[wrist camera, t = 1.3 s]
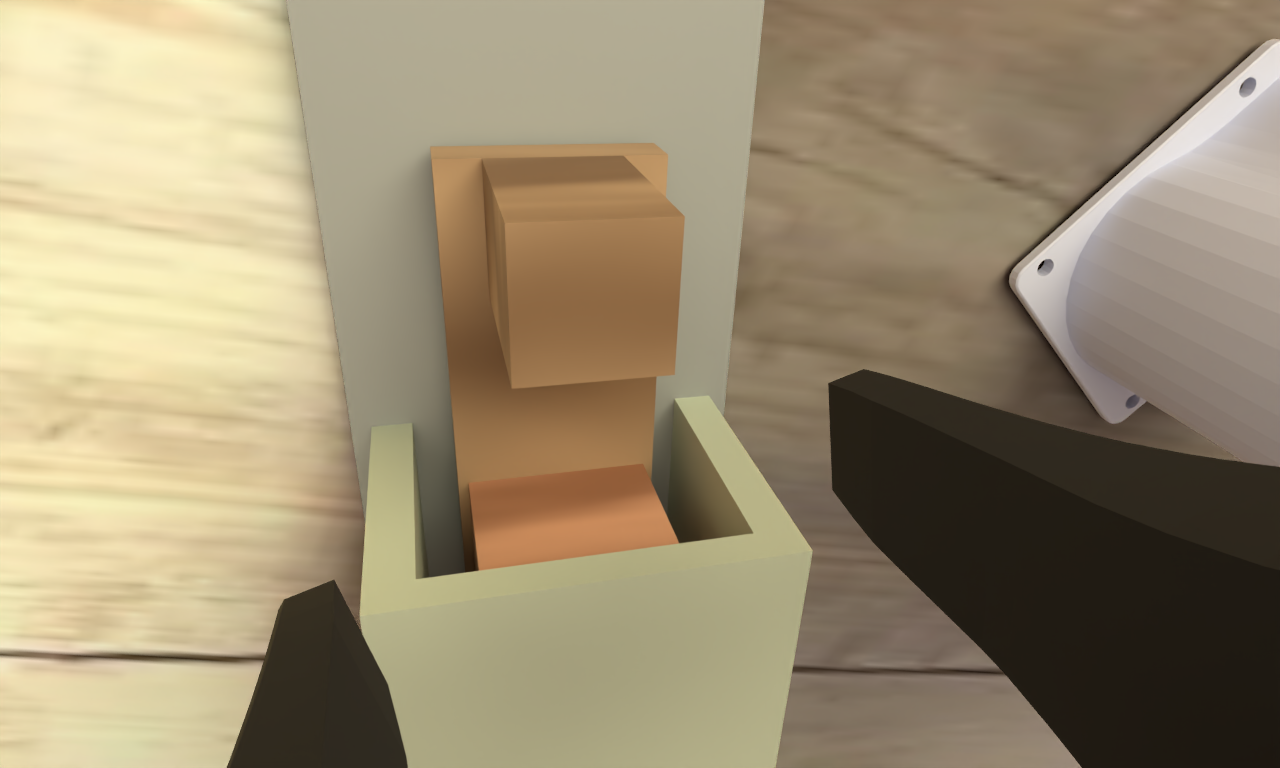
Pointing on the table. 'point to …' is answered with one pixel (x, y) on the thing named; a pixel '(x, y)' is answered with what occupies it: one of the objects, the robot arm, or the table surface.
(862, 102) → the table surface
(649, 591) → the tunnel
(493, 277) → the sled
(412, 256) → the track board
